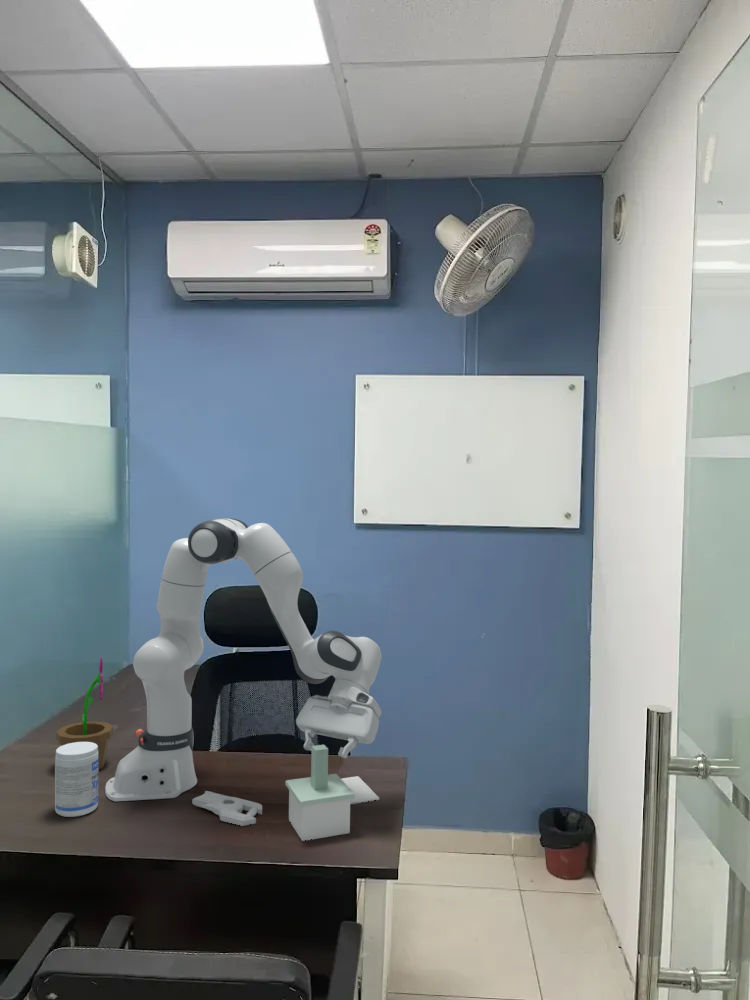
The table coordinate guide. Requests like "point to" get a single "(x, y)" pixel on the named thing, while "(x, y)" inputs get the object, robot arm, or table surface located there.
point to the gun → (229, 808)
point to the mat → (359, 790)
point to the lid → (319, 782)
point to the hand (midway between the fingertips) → (324, 752)
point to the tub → (319, 818)
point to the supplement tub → (76, 779)
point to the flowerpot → (89, 726)
